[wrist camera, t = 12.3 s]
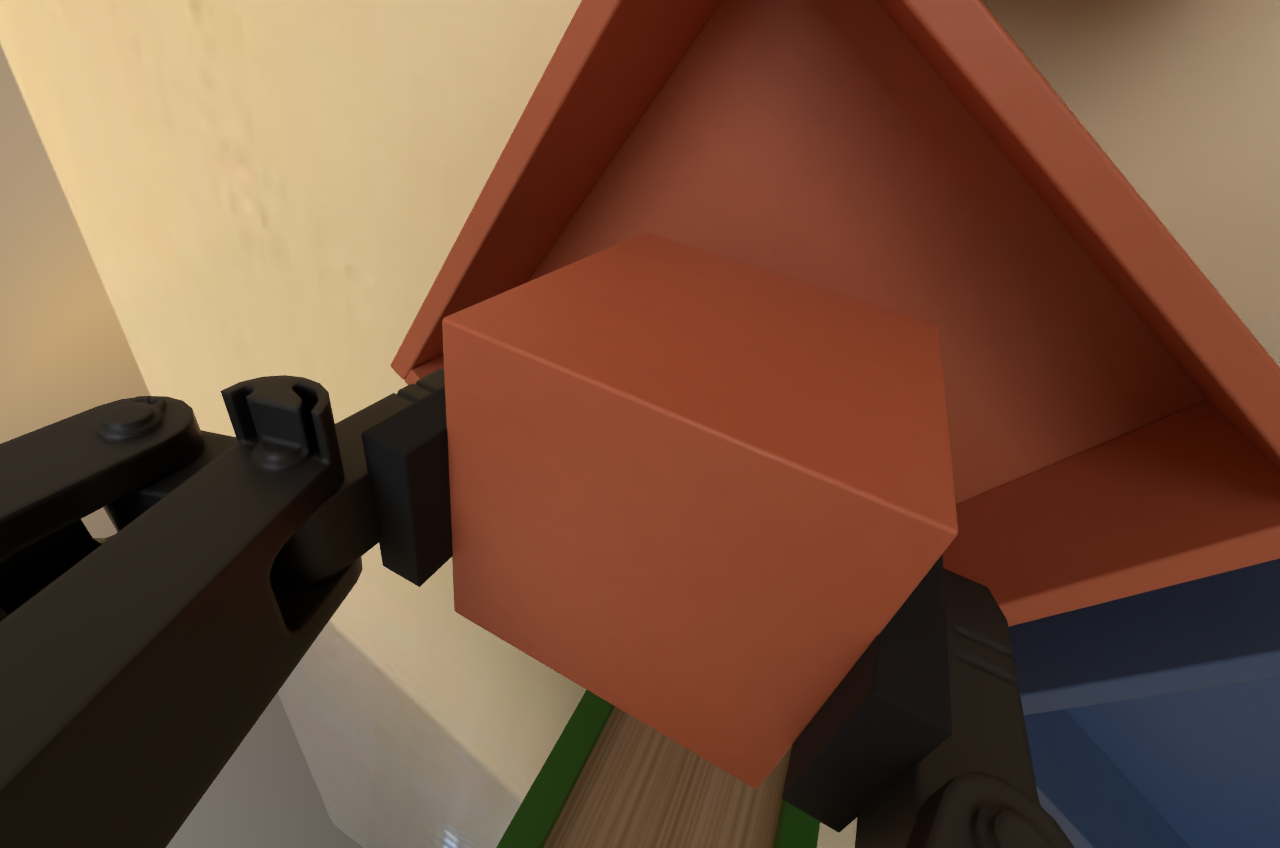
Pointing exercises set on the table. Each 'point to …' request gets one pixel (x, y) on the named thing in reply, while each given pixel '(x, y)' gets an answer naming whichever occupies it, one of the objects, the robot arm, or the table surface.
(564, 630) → the rust block
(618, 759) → the hardback book
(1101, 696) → the slate bin
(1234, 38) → the table surface
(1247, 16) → the table surface
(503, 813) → the table surface
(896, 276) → the rust bin
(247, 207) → the table surface
